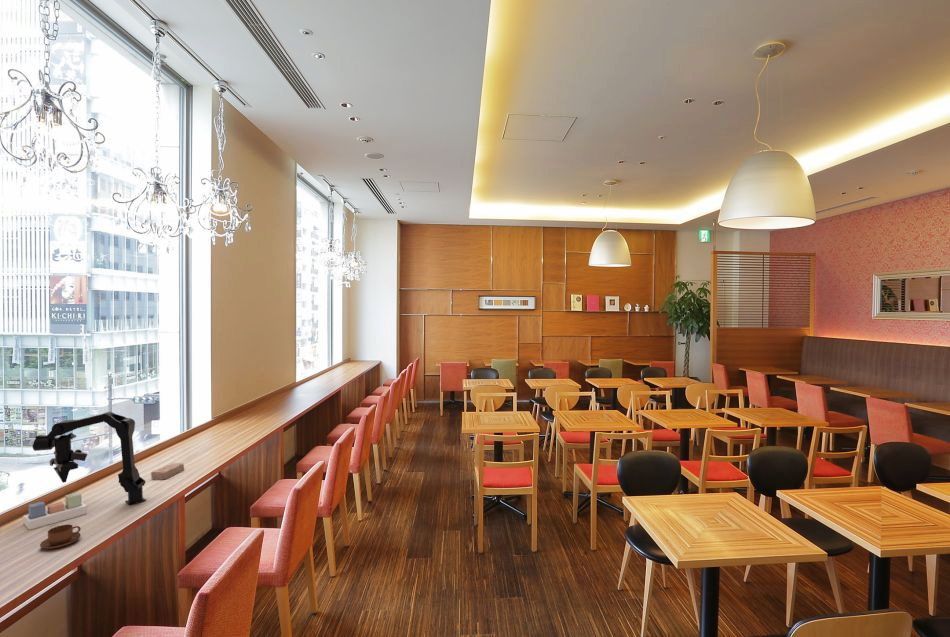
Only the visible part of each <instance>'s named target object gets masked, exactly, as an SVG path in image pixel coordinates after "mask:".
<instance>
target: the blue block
mask: <svg viewBox="0 0 950 637" xmlns="http://www.w3.org/2000/svg"><path fill="white" fill-rule="evenodd" d="M27 508H28V509H27V510H28V515H29V519H30V520H31V519H34V518H38V517H42V516H45V515H46V511H45V510H46V503H45V502H44V501H38V502H34V503H30V504H28V507H27Z"/></svg>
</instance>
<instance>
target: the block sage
mask: <svg viewBox="0 0 950 637" xmlns="http://www.w3.org/2000/svg"><path fill="white" fill-rule="evenodd" d="M64 496H65V499H64V500H65V505H66V508H67V509H71V508H74V507H78V506H82V503H83V501H82V494H81V493H80V492H79V491H78V492H73V493H70V494H65V495H64Z"/></svg>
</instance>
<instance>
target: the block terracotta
mask: <svg viewBox="0 0 950 637" xmlns="http://www.w3.org/2000/svg"><path fill="white" fill-rule="evenodd" d="M64 505H65V504H64V502H62V501H58V502H55V503H50V504H48V505H46V506H47V509H48V513H49V514H53V513H56V512H60V511H64Z"/></svg>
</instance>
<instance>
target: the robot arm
mask: <svg viewBox="0 0 950 637" xmlns="http://www.w3.org/2000/svg"><path fill="white" fill-rule="evenodd" d="M100 423H106V424H107V425H108V426H109V427H111V428H113V429H114V430H115V432H116V435H117V436H118V439H119V440H120V451H121V461H122V462H121V463H122V471H121V472H119V473H118V474H117V478H118V484H119V485H120V486H121V487H122V488H123V490H124V492H125V493H127V500H125V503H126V504H128V505H129V506H131V505H135V504H138V503H143V502H145V501H147V499H146V498H144V495H143V494H144V491H143V488H144V487H143V486H145V484H146V482H147V481H146V480H145V479H144V478H142V477H141V476H140V473H139V469H137V466H136V465H135V453H134V445H133V444H134V441H133V436H134V432H135V429H136V428H135V427H136V422H135V420H134V419H133V418H131V417H126V416H123V415H120V414H117V413H115V412H113V411H107V412H104V413H101V414H96V415H92V416H88V417H84V418H79V419H67V420H65V419H64V420H62V421H60V422H57V423H54V424H53V425H52V427H51V431H49V433H48V434H45V435H43V434H41V435H36V436H35V439H34V440H33V443H32V450H33V451H35V452H38V451H49V450H50V451H51V450H52V449H54V451H53V454H54V457H52V458H51V459H50V460H49V466H50V467H53V466H54V465H55V467H53V469H54V471H55V473H56V474H57V476H58V477H59V479H60V480H61V482H62V483H66V482H67V480H68V476H69V473H70V471H72V470H73V471H74V470H76V469H79V465H78V463H77V462H75V461H82V462H83V461H84V462H85V461H86V458H87V456H88V453H86V452H84V451H83V452H82V449H76V450H73V449H72V439H75V438H77V435H76V434H74V433H73V432H72V431H75V430H77V429H81V428H84V427H88V426H93V425H96V424H100ZM67 433H68V434H67Z"/></svg>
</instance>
